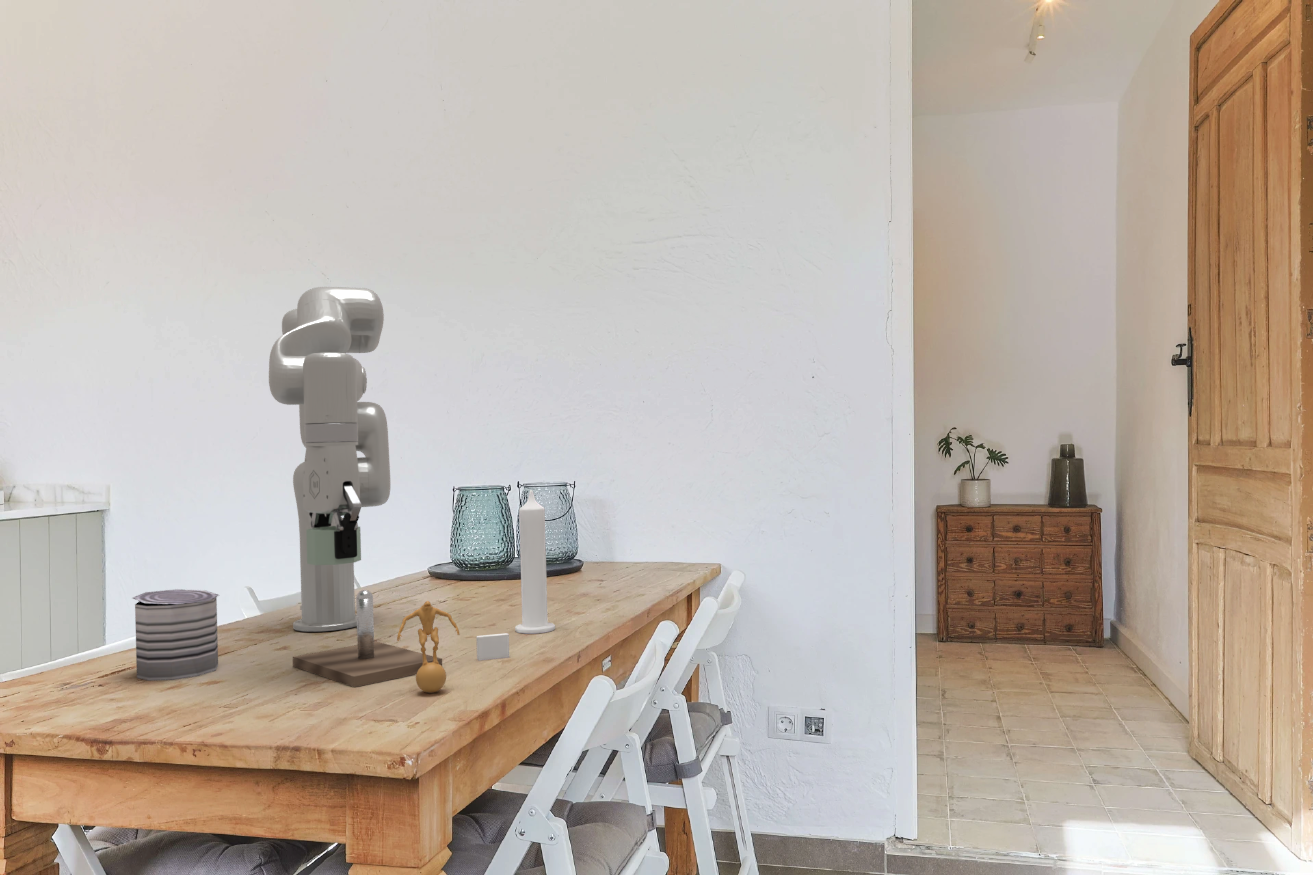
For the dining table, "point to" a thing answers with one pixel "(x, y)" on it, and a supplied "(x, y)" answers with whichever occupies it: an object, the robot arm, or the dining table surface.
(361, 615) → the post
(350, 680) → the stand board
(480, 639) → the eraser
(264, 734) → the dining table surface
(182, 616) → the can
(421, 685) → the figurine
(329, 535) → the bead
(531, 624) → the candle
